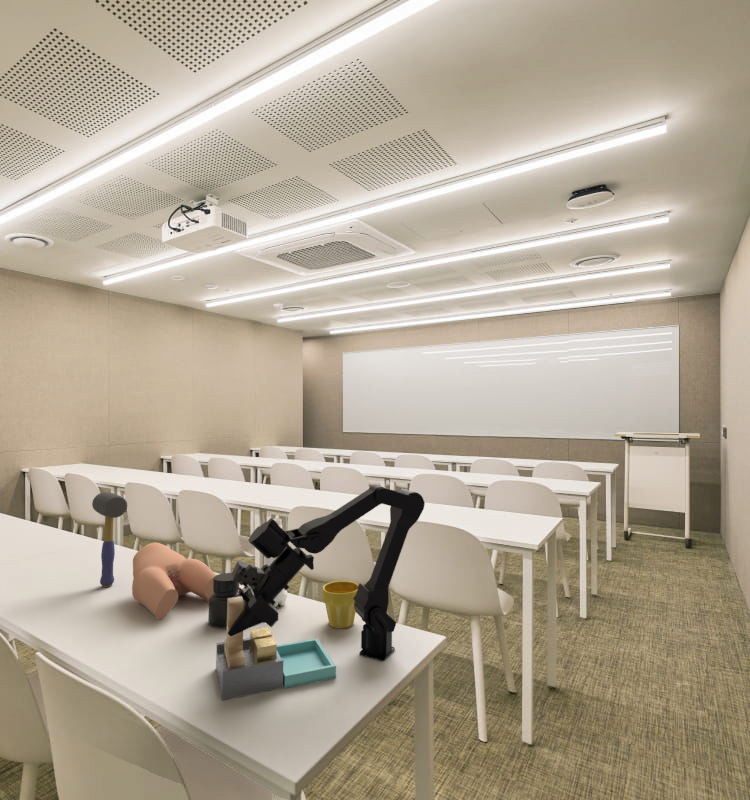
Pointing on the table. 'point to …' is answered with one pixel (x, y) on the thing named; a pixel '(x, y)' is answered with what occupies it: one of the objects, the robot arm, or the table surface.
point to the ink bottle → (221, 598)
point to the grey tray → (247, 674)
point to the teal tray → (305, 663)
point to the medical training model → (167, 578)
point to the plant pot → (340, 602)
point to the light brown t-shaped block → (236, 641)
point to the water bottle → (283, 594)
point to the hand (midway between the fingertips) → (228, 630)
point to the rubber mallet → (108, 530)
